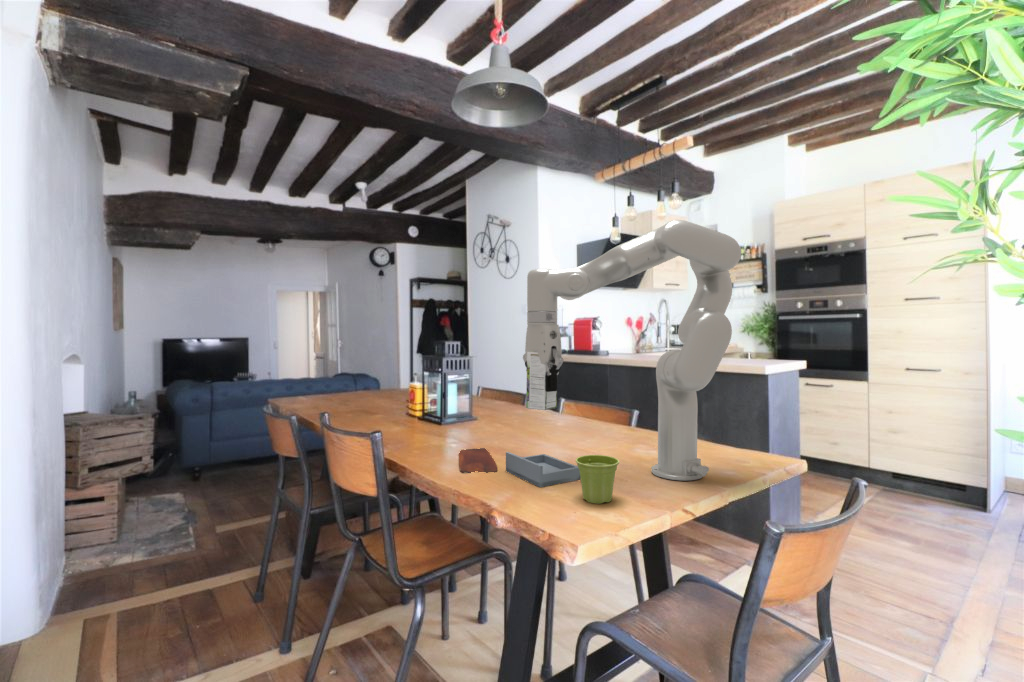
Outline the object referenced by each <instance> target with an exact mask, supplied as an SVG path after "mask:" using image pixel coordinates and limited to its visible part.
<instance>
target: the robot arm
mask: <svg viewBox="0 0 1024 682" xmlns="http://www.w3.org/2000/svg"><path fill="white" fill-rule="evenodd" d="M741 256H742V248H741V246H740V244H739V243H738V241H737V240H736V239H735V238H734V237H732V236H731V235H729V234H726V233H723V232H720V231H717V230H713V229H712V228H708V227H705V226H702V225H700V224H697V223H694V222H691V221H687V220H685V219H684V220H682V219H673V220H670V221H668V222H667V223H665V224H663V225H661V226H659V227H657V228H655V229H653V230H651V231H649V232H646V233H644V234H642V235H639V236H637V237H635V238H633V239H630V240H627V241H626V242H622V243H620V244H619V245H616V246H615V247H613V248H611V249H609V250H607V251H606V252H605V253H603V254H601V255H600V256H598V257H596V258H594V259H593V260H590V261H588V262H586V263H584V264H582V265H579V266H577V267H569V268H568V267H567V268H561V269H550V268H535V269H532V270H529V271H528V273H527V277H526V278H527V280H526V281H527V282H526V283H527V284H526V285H527V287H526V288H527V289H526V292H527V295H526V297H527V298H526V302H527V303H526V307H527V309H526V310H527V311H526V315H527V319H526V324H527V326H526V327H527V328H526V333H525V345H524V346H525V347H524V348H525V350H524V351H525V352H524V354H523V355H522V359H523V363H524V365H525V369H526V370H525V371H526V372H527V352H529V351H538V352H537V353H538V355H539V358H540V361H541V363H542V364H545V365H546V372H547V375H545V391H546V392H552V391H557V392H558V375H559V374H560V370H561V368H562V365H563V363H564V359H563V357H562V353H563V352H562V340H561V331H560V326H559V324H558V297H560V298H562V299H563V300H566V301H573V300H576V299H579V298H581V297H583V296H584V295H586V294H587V295H588V294H589V293H592V292H593V291H596V290H598V289H600V288H604V287H606V286H608V285H611V284H613V283H617V282H621V281H624V280H627V279H628V278H631V277H634V276H635V275H638V274H640V273H641V274H642V273H643V272H644V271H645V272H646V271H647V270H650V269H652V268H654V267H656V266H659V265H662V264H663V263H666V262H668V261H671V260H673V259H675V258H677V257H682V258H683V259H687V260H689V265H690V268H691V270H692V272H693V274H694V276H695V278H696V283H697V284H696V289H695V293H694V295H693V297H692V300H691V301H690V304H689V306H688V308H687V310H686V312H685V313H684V315H683V317H682V319H681V321H680V323H679V325H678V329H677V336H678V339H679V341H680V342H681V343H682V344H683V345H682V348H681V349H671V350H668V351H666V352H665V353H663V354H662V355H661V356H660V357H659V358H658V361H657V362H656V368H655V379H656V386H657V387H656V388H657V397H658V398H657V400H658V401H657V402H658V405H657V406H658V407H657V410H658V411H657V464H654V465H652V466H651V473H652V474H653V475H654V476H656V477H659V478H662V479H666V480H671V481H681V482H682V481H696V480H700V479H702V478H703V477H705V476H707V474H708V472H709V471H710V468H709V466H705V465H702V464H701V462H702V460H701V458H699V457H698V414H699V413H698V412H699V409H698V407H699V406H698V403H699V402H698V394H697V392H699V391H700V390H703V389H704V388H705V387H706V386H707V385H708V384H709V383H710V382H711V380H712V379H713V377H714V376H715V374H716V371H717V369H718V367H719V366H720V364H721V361H722V359H723V357H724V355H725V353H726V352H727V349H728V347H729V345H730V343H731V341H732V340H731V339H732V334H733V329H732V323H731V320H729V318H728V316H726V315H725V313H726V311H727V309H728V306H729V304H730V302H731V299H732V296H733V283H732V278H731V275H730V273H729V271H730V270H731V269H734V268H735V267H736V266H737V265H738V263H739V262H740V260H741ZM549 361H552V362H549ZM550 366H552V367H551V369H550Z"/></svg>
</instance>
